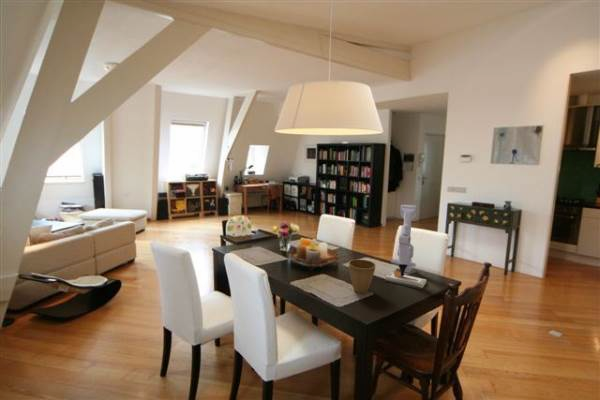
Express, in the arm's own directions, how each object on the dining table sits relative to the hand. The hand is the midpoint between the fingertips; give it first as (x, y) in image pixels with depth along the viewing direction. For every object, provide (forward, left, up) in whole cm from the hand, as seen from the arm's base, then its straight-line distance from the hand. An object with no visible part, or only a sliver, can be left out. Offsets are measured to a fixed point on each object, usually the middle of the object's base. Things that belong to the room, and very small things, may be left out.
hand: (402, 275), depth 203 cm
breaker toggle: (0, -3, -1) cm, 3 cm away
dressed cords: (0, +2, -3) cm, 4 cm away
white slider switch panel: (0, +2, -3) cm, 4 cm away
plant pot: (+29, -15, -3) cm, 33 cm away
